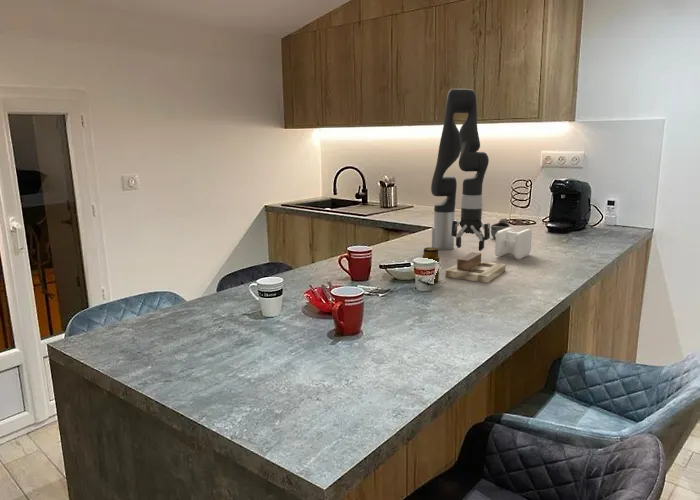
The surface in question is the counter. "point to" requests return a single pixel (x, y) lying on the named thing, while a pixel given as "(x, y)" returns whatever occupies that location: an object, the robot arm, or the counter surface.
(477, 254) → the walnut bar
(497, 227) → the mug
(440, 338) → the counter surface
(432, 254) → the condiment
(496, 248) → the cable organizer
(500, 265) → the keyhole board
